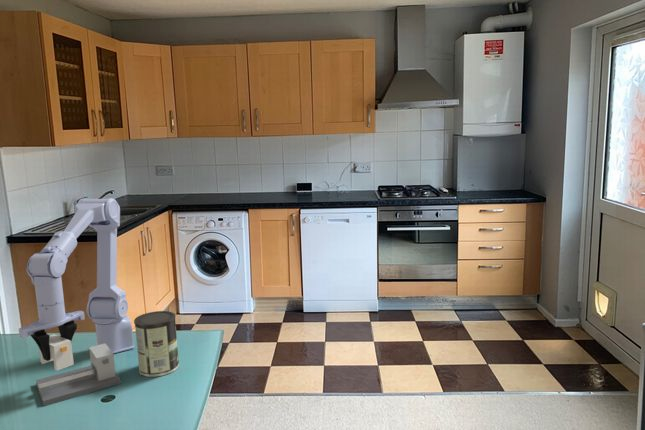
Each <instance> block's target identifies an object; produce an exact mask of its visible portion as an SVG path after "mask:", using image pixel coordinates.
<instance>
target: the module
mask: <svg viewBox="0 0 645 430" xmlns="http://www.w3.org/2000/svg"><path fill="white" fill-rule="evenodd" d="M49 350H50V360H49V361H46V360H45V359H44V358H43V355H42V353H41V350H40V348H39V347H38V351H39V358H40V363H41V364H42V365H43V364H46V363H49V362H53V367H54V370H55V371H61V370H63V369H65V368H69V367H71V366H73V365H74V364H75V363H74V354H73V347H72V341H70V340H68V339H65V338H63V337H61V336H60V335H58V334H51V335H50V338H49Z"/></svg>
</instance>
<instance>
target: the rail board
mask: <svg viewBox="0 0 645 430" xmlns="http://www.w3.org/2000/svg"><path fill="white" fill-rule="evenodd" d="M88 349H89V361H90V365H87V366H84V367H81V368H77V369H73V370H69V371H65V372H61V373H57V374H54V375H50V376H46V377H42V378H39V379H36V380H35V384H36V387H37V390H38V393H39V397H40V399H41V402H42V404H43V407H45V406H49V405H53V404H55V403H56V404H57V403H59V402H62V401H65V400H70V399H72V398H77V397H80V396H82V395H87V394H90V393H93V392H97V391H100V390H102V389H103V388H104V389H107V388H111V387H114V386H117V385H116V384H118V385H120V384H121V378H120V377H119V375H118V374H117V373H116V367H115V366H116V365H115V357H114V354H113V353H112V351H111V350H110V349H109V347H108V346H107V345H106V344H105V343H104V344H100V345H97V344H96V345H93V346H90V347H88ZM113 385H114V386H113ZM110 386H111V387H110ZM106 387H107V388H106Z"/></svg>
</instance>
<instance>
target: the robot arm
mask: <svg viewBox="0 0 645 430" xmlns="http://www.w3.org/2000/svg"><path fill="white" fill-rule="evenodd" d="M120 223H121V207H120V205H119V203H118V201H117V200H116V199H115V198H111V197H110V198H80V199H78V201H77V203H76V204H75V205H74V215H73V217H72V218H71V220H70V221H69V222H68V224H67V226H66V227H65V228H64V230H61V231H57V232H55V233H54V234H53V235H52V237H51V239H50V240H49V241H48V242H47V243H46V245H45V246H44V247H43V248H42V249H41V250H40V251H39V252H36V253H34V254H33V255H32V256H30V257H29V259H28V261H27V264H26V268H25V269H26V273H27V275H28V276H29V277H30V279H31V280H30V281H31V284H32V285H33V286H34V290H35V298H36V299H35V300H36V307H37V316H38V320H37V321H35V322H33V323H30V324H27V325H25V326H22V327H19V328H18V335H19V337H20V338H23V339H25V338H27V337H31V338H32V339H33V341H34V342H35V343H36V345H37V346H38V349H39V348H40V350H41V353H42V355H43V358H44V359H45V360H46V361H49V360H50V350H49V338H50V335H49V333H47V331H48V330H51V329H53V328H54V329H55V328H58V330H59V336H60V337H63V338H65V339H68V340H70V341H71V342H72V341H73V338H74V335H75V332H76V331H77V329H78V324H77V323H75V322H76V321H77V322H78V321H84V320H85V319H86V318H85V311H82V310H77V311H73V312H67V313H66V307H65V299H64V297H65V296H64V290H63V289H64V288H63V281H62V280H63V279H62V276H63V274H65V271H66V267H67V263H68V260H69V259H68V258H69V257H70V256H71V254H72V253H73V252H74V250H75V249H76V248H77V245H78V241H77V239H78V238H79V237H80V235H81V234H82V233H83V232H84V231H85V230H86V229H87V228H88V226H89V227H90V228H93V229H94V230H95V232H96V233H97V234H96V235H97V237H96V238H97V241H96V243H97V244H96V249H97V250H96V253H97V254H96V288H95V289H93V290H92V291H91V292H90V293H88V301H87V305H86V314H87V315H88V316H87V317H88V318H89V319H91V321H92V323H94V325H95V326H94V327H95V333H96V336H95V337H96V345H100V344H104V343H105V344H106V345H107V346H108V347H109V349H110V350H111V351H112V353H113V355H114V354H118V353H120V352H121V353H122V352H125V351H128V350H129V351H130V350H132V349H135V345H134V336H133V325H132V320H131V318H130V316H129V315H127V314H128V310H129V304H128V300H127V292H126V291H124V289H121V288H120V287H119V286H118V285H117V282H118V281H117V277H118V276H117V271H118V270H117V267H118V265H117V264H118V263H117V261H118V259H117V258H118V257H117V256H118V248H117V247H118V244H117V243H118V240H117V239H118V238H117V237H118V235H117V234H118V228H119V227H120V226H121V224H120Z"/></svg>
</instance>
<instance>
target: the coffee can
mask: <svg viewBox="0 0 645 430" xmlns="http://www.w3.org/2000/svg"><path fill="white" fill-rule="evenodd" d="M133 323H134V329H135V338H136V339H135V340H136V349H137V360H138V361H137V362H138V372H139V374H140V375H141V376H144V377H148V378H157V377H162V376H165V375H166V376H167V375H169V374H172V373H174V372H175V371H176V370H177V369H179V367H180V360H179V350H178V340H177V327H176V326H177V325H176V313H174V312H173V311H169V310H159V311H158V310H157V311H150V312H146V313H143V314H140V315H138V316H137V317H136V318H134V320H133Z"/></svg>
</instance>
